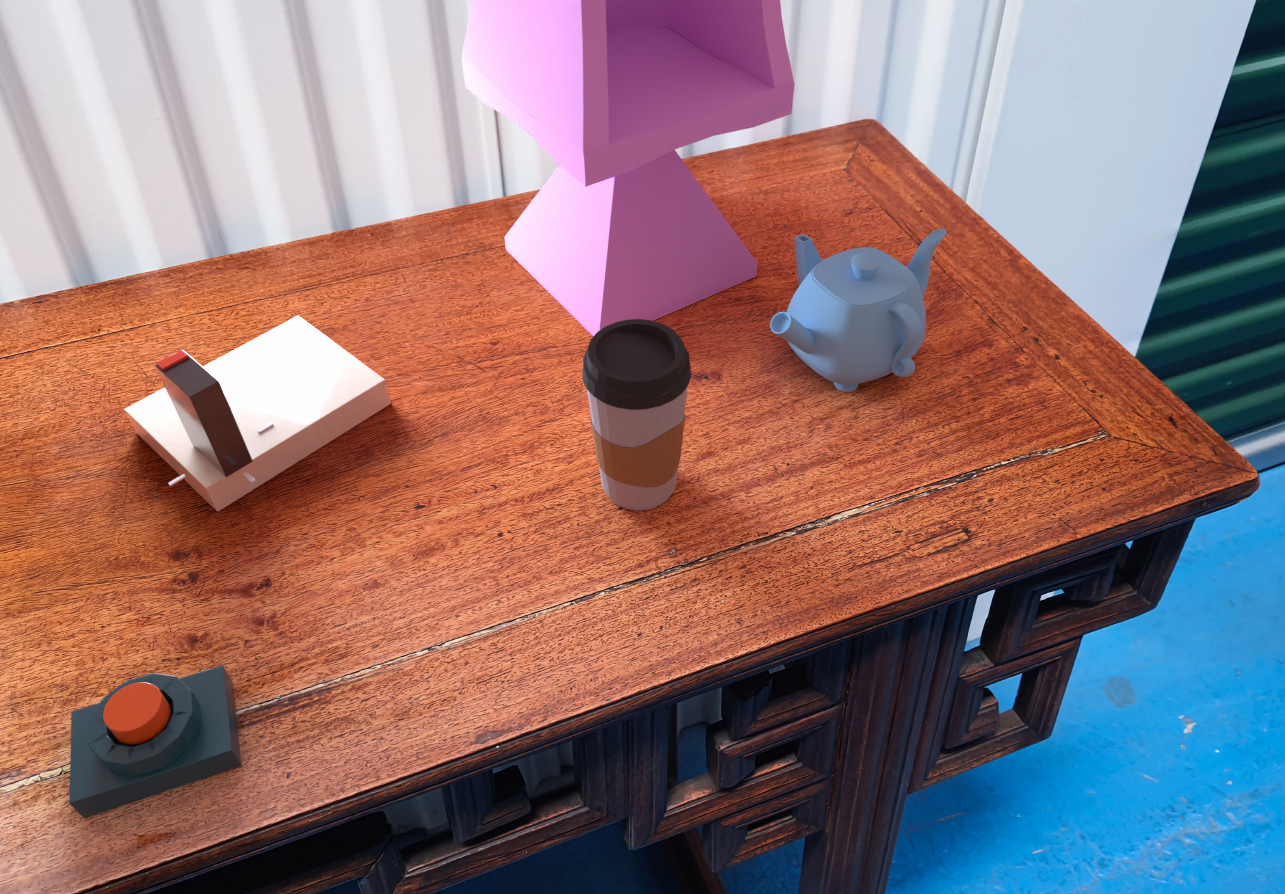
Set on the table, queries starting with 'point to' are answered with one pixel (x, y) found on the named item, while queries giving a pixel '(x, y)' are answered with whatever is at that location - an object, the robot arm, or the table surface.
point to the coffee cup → (637, 409)
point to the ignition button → (137, 713)
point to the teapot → (857, 311)
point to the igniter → (155, 744)
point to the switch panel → (268, 408)
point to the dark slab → (204, 412)
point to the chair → (628, 139)
